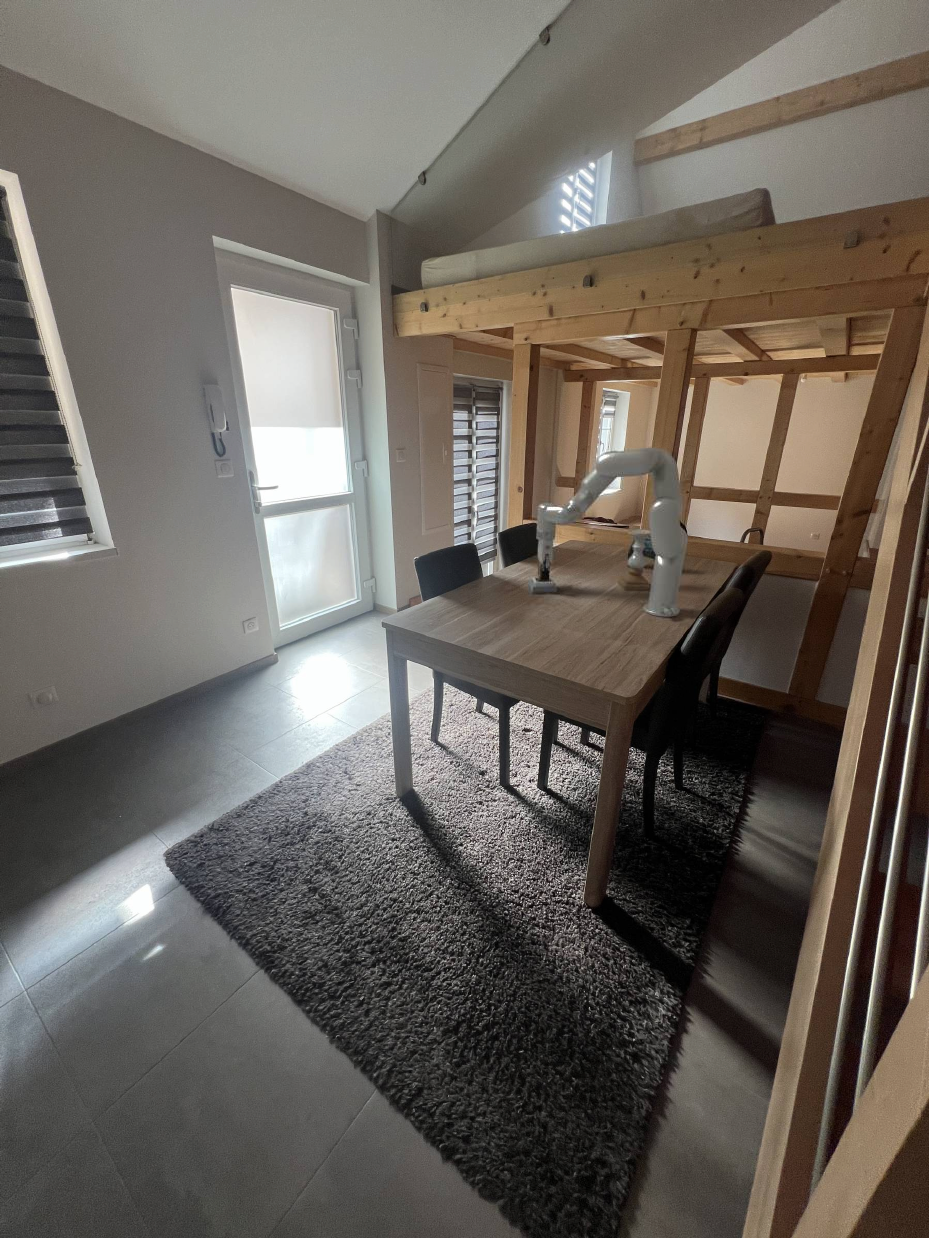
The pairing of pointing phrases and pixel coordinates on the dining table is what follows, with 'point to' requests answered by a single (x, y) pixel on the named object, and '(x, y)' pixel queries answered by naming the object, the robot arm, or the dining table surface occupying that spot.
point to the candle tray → (542, 586)
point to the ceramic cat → (647, 550)
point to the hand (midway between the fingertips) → (543, 576)
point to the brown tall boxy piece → (540, 572)
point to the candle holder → (636, 563)
